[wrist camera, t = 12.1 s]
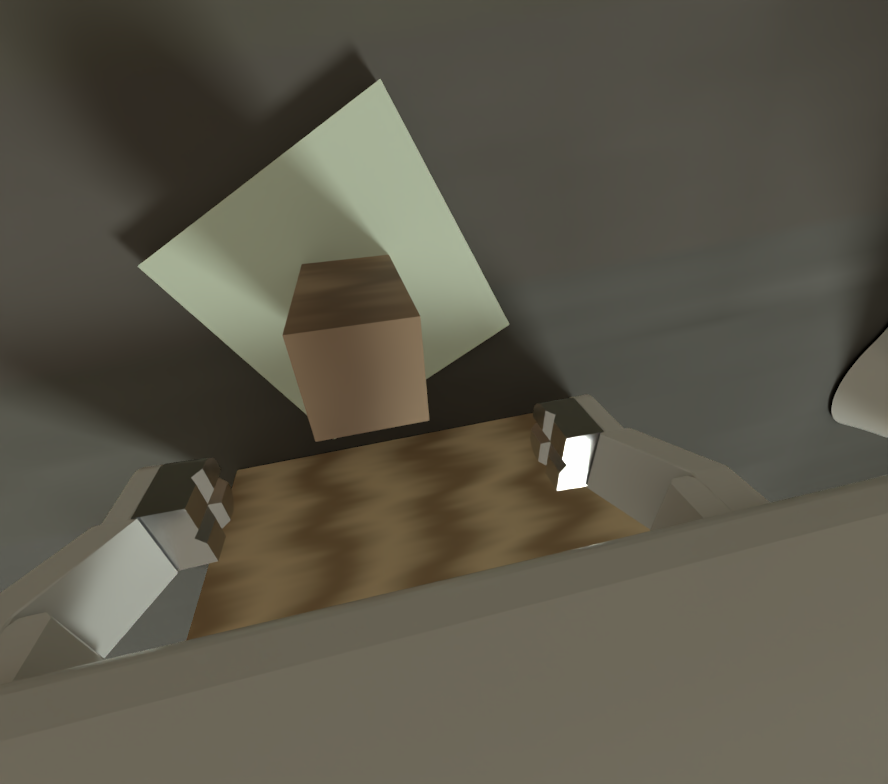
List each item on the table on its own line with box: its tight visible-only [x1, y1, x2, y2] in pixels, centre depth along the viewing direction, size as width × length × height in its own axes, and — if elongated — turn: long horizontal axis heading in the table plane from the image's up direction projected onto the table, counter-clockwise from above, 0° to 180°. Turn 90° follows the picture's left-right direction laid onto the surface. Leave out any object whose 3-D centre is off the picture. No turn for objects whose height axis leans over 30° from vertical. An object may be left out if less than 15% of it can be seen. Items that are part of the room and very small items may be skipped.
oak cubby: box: [187, 413, 650, 640], centre depth 28 cm, size 26×14×12 cm, turn 93°
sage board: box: [138, 79, 510, 439], centre depth 21 cm, size 14×14×1 cm
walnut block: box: [282, 255, 429, 442], centre depth 17 cm, size 4×4×9 cm
